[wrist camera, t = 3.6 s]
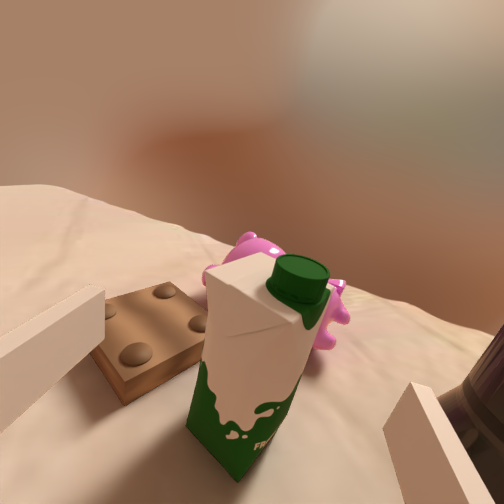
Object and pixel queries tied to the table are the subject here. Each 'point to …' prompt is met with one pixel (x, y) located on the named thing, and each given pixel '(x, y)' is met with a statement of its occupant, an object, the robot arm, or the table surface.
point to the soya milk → (254, 351)
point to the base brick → (149, 339)
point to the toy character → (253, 245)
